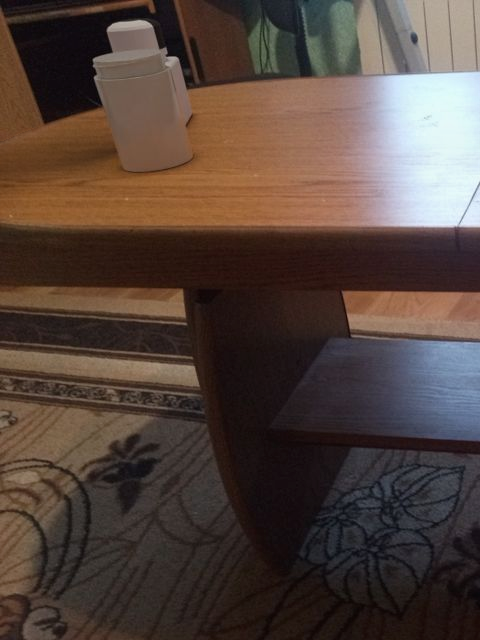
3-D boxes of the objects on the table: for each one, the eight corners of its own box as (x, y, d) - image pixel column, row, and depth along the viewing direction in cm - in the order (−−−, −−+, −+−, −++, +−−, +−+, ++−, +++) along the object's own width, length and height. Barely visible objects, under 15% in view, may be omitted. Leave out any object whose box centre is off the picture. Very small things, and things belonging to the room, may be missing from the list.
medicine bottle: (136, 120, 94) (106, 19, 88) (193, 114, 95) (167, 13, 89) (125, 134, 88) (91, 27, 82) (185, 127, 89) (157, 21, 83)
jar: (107, 172, 75) (71, 63, 70) (147, 151, 81) (117, 49, 76) (170, 172, 74) (138, 61, 68) (205, 150, 80) (179, 47, 74)
